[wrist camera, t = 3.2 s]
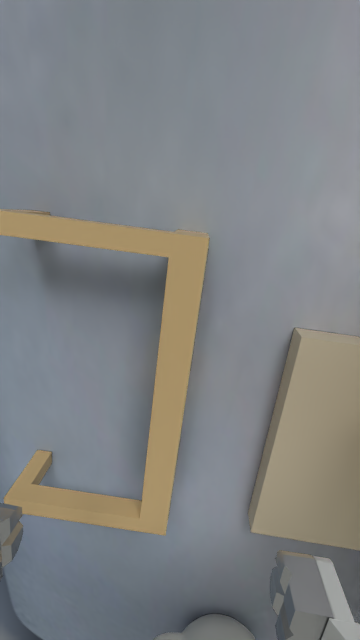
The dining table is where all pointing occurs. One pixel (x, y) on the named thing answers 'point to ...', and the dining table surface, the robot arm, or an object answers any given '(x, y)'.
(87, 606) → the dining table surface
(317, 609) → the robot arm
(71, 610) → the dining table surface
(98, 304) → the dining table surface
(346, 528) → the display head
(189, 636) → the teacup
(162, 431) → the tan open angular frame
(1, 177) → the dining table surface
